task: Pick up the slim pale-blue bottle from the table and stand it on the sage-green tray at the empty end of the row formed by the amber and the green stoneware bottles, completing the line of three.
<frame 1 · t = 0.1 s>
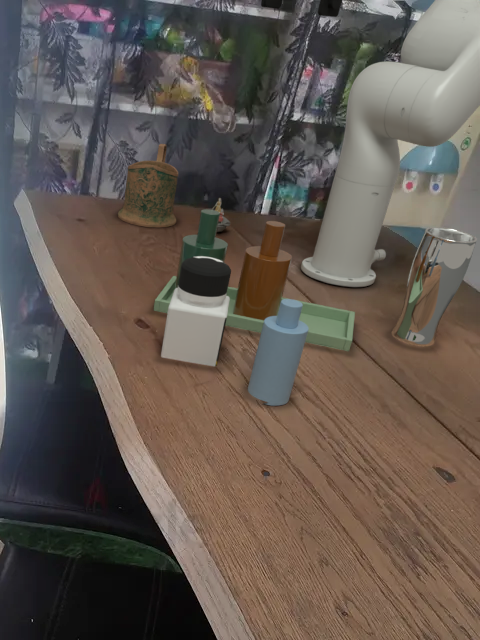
hand: (298, 11, 93), 37 cm above the table, tool pointing down, fingers open, 9 cm apart
bronze bell: (149, 215, 147), on the table
figurine: (214, 232, 142), on the table
green bottle: (194, 303, 109), resting on tray
blue bottle: (267, 395, 88), on the table
beer glass: (411, 341, 106), on the table
medicine bottle: (190, 355, 95), on the table
tray: (253, 319, 107), on the table
amber bottle: (254, 315, 107), resting on tray
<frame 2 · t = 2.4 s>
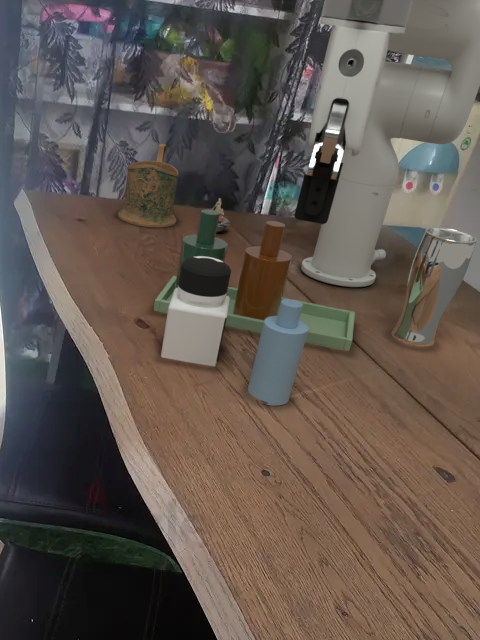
hand: (313, 210, 75), 21 cm above the table, tool pointing down, fingers open, 9 cm apart
nothing on the table moved.
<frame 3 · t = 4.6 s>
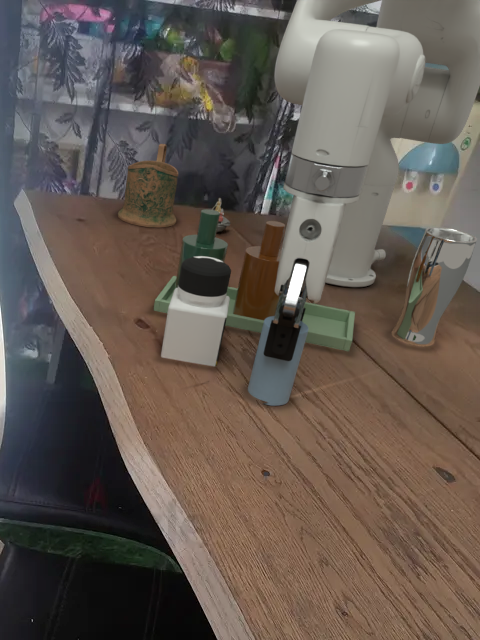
hand: (280, 346, 84), 6 cm above the table, tool pointing down, fingers closed on blue bottle, 5 cm apart
blue bottle: (267, 395, 88), on the table, touching gripper
everything else where it was.
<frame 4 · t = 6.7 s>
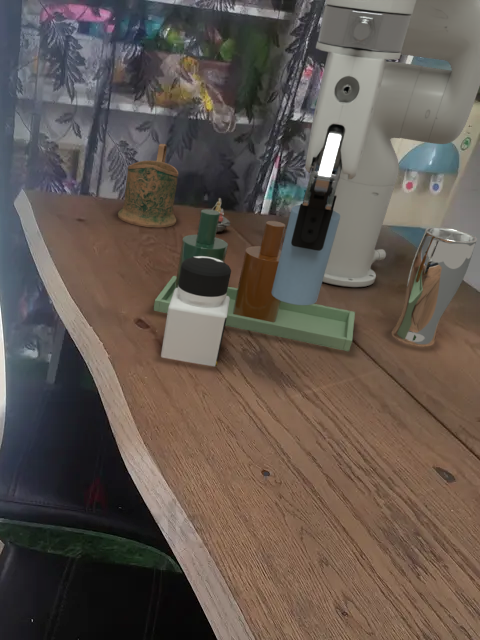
hand: (309, 238, 77), 18 cm above the table, tool pointing down, fingers closed on blue bottle, 5 cm apart
blue bottle: (294, 296, 81), point 12 cm above the table, touching gripper
everything else where it was.
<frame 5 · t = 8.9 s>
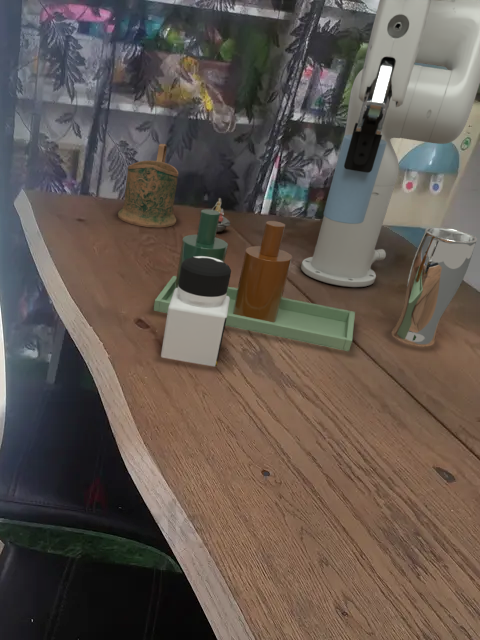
hand: (358, 163, 89), 23 cm above the table, tool pointing down, fingers closed on blue bottle, 5 cm apart
blue bottle: (343, 217, 92), point 17 cm above the table, touching gripper
everything else where it was.
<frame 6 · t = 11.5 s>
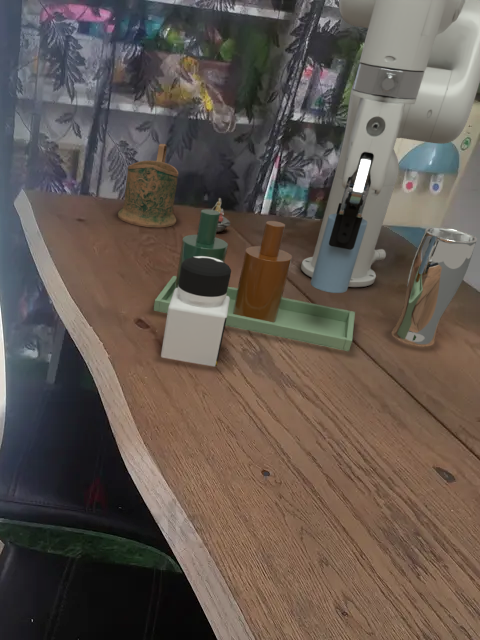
hand: (342, 240, 98), 13 cm above the table, tool pointing down, fingers closed on blue bottle, 5 cm apart
blue bottle: (328, 286, 101), point 7 cm above the table, touching gripper
everything else where it was.
when the fingers open (7 cm above the table, at t = 13.4 s): blue bottle stays where it is, resting on tray.
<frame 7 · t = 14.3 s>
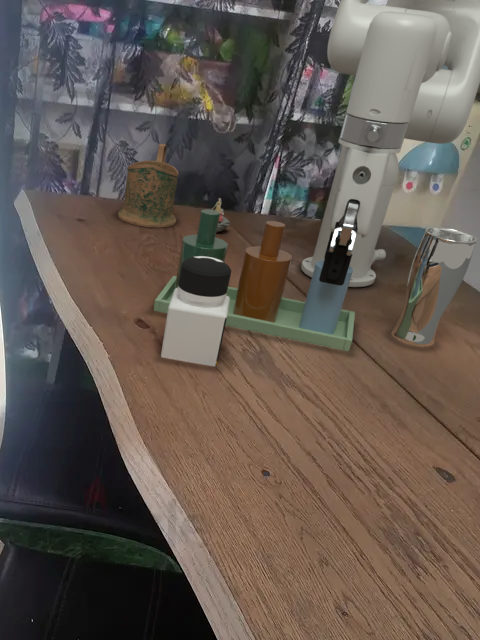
hand: (333, 271, 101), 9 cm above the table, tool pointing down, fingers open, 9 cm apart
blue bottle: (316, 329, 105), resting on tray
everything else where it was.
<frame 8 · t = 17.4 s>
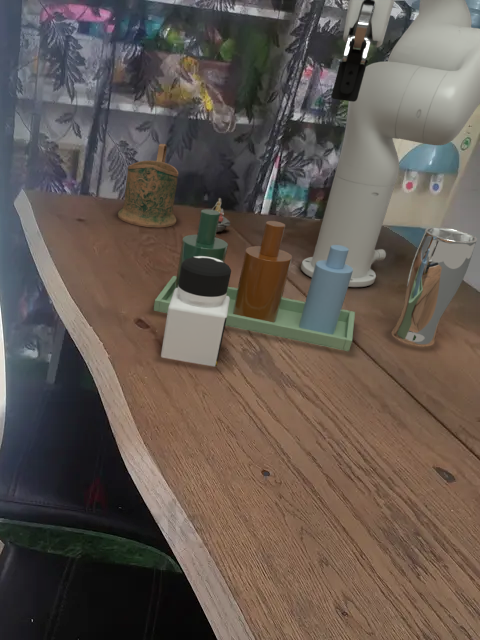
hand: (345, 95, 98), 28 cm above the table, tool pointing down, fingers open, 9 cm apart
nothing on the table moved.
at the end: blue bottle 0.1 cm from the target spot in the tray, point 0.5 cm above the tray's base; blue bottle tilted 0°; the gripper is holding nothing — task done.
